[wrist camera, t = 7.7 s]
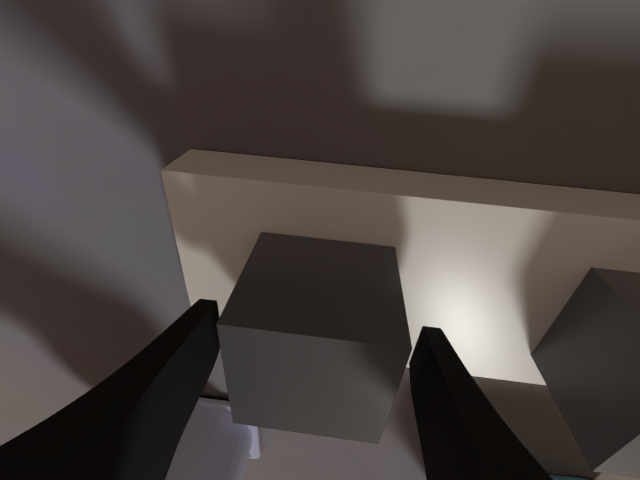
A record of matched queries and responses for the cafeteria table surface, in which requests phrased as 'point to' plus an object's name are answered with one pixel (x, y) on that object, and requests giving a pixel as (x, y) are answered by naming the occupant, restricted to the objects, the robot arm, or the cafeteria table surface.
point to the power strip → (453, 269)
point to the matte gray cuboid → (315, 337)
